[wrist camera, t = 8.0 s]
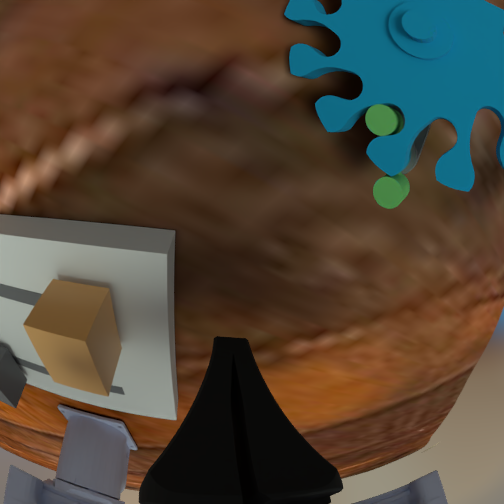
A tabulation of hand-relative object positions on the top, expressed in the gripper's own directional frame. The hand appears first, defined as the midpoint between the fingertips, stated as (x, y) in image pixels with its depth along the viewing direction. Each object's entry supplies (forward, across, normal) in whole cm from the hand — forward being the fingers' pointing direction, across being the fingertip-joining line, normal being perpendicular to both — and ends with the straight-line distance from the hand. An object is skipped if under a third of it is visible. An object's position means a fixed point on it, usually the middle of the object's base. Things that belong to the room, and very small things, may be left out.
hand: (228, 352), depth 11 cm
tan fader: (+1, +7, 0) cm, 7 cm away
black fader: (+1, +17, +8) cm, 19 cm away
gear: (+4, -4, -13) cm, 14 cm away
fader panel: (+3, +14, +4) cm, 15 cm away
